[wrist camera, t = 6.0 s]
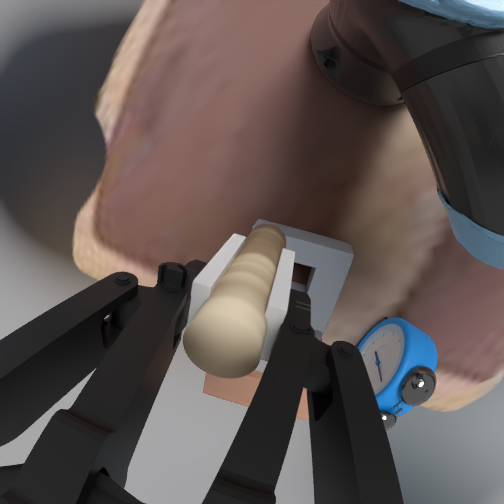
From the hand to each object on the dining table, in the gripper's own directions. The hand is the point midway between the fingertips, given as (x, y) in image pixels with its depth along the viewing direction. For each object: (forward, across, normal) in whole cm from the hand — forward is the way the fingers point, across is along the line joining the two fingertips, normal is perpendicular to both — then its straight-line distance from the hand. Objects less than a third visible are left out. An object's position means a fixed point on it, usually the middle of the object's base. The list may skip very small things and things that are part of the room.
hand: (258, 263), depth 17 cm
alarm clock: (+19, +20, -14) cm, 31 cm away
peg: (+4, 0, 0) cm, 4 cm away
